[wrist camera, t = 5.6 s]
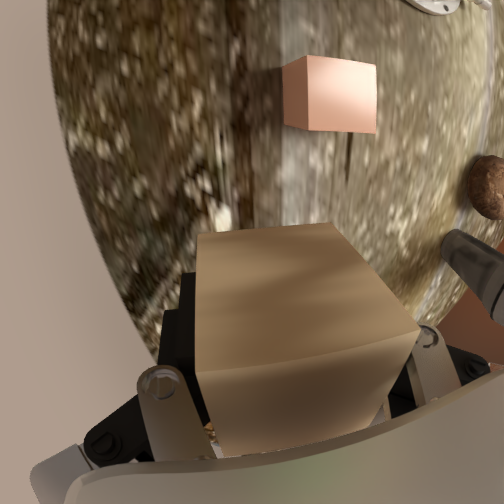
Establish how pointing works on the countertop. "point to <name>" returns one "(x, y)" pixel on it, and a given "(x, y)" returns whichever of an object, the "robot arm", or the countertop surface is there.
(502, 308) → the beverage cup
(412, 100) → the countertop surface
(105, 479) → the robot arm
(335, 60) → the terracotta block
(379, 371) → the oak block
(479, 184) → the mushroom
